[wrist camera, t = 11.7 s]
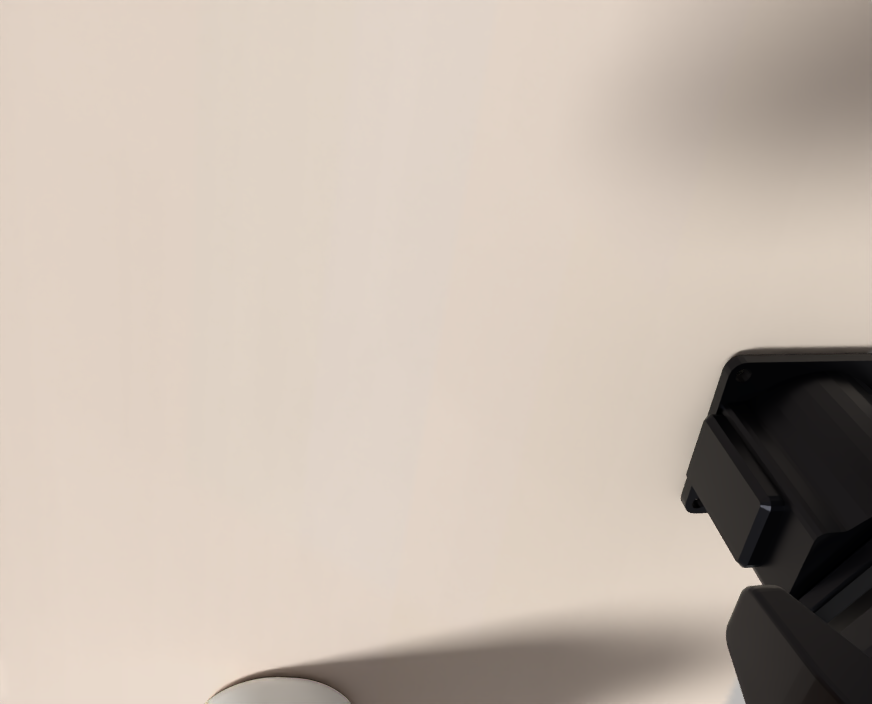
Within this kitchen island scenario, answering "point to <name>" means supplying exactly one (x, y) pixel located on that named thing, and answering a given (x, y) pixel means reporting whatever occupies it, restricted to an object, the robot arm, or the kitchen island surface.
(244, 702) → the bath foam
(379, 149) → the kitchen island surface
